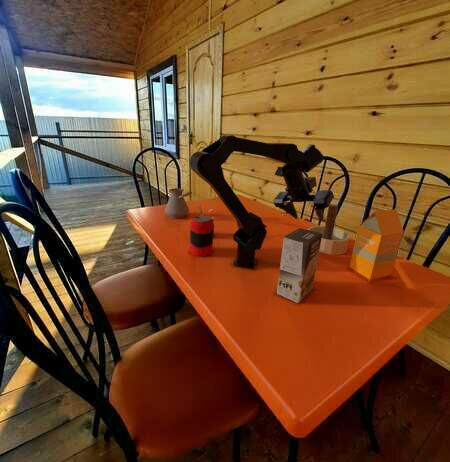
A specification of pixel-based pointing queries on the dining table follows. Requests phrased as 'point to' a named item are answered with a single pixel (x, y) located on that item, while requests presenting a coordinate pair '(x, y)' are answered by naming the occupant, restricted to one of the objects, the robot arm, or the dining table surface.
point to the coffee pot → (177, 204)
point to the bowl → (333, 241)
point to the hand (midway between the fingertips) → (309, 218)
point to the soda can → (201, 236)
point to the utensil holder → (209, 217)
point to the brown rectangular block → (330, 221)
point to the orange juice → (377, 244)
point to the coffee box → (298, 264)
